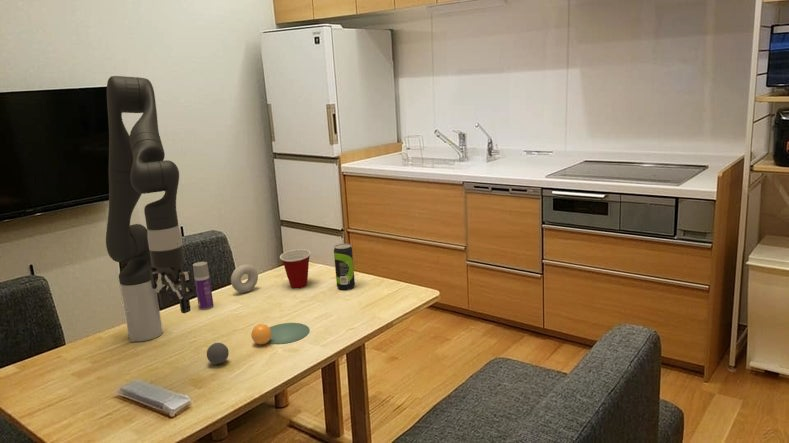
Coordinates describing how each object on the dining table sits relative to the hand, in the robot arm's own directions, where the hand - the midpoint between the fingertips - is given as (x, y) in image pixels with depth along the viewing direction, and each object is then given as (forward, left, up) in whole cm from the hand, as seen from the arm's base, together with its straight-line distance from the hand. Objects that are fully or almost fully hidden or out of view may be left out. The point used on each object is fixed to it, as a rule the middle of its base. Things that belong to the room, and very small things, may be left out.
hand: (175, 309), depth 147 cm
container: (+15, +46, -19) cm, 52 cm away
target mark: (+30, +10, -18) cm, 36 cm away
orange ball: (+22, +8, -16) cm, 28 cm away
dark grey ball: (+9, +3, -16) cm, 18 cm away
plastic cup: (+47, +46, -19) cm, 68 cm away
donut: (+30, +52, -19) cm, 63 cm away
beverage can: (+60, +34, -19) cm, 71 cm away
